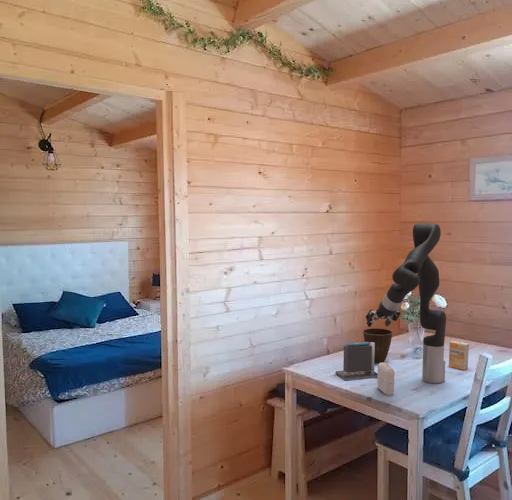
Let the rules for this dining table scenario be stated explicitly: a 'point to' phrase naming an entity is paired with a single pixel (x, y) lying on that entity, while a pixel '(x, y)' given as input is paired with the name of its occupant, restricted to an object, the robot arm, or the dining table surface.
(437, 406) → the dining table surface
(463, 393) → the dining table surface
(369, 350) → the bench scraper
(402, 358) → the dining table surface
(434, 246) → the robot arm
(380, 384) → the photo printer
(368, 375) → the panel
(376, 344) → the plant pot
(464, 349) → the supplement box
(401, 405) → the dining table surface
